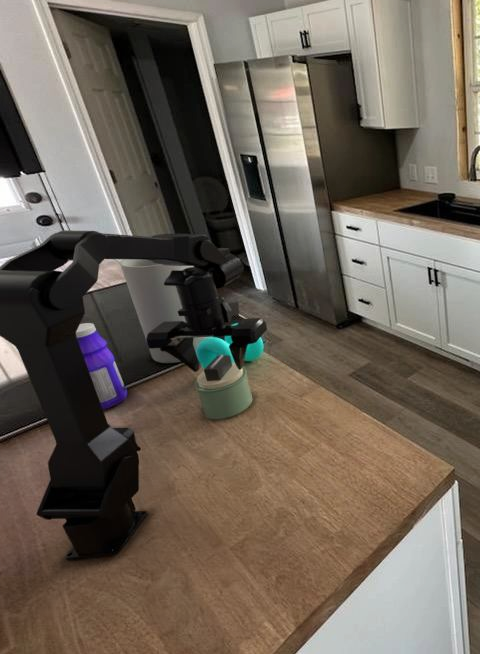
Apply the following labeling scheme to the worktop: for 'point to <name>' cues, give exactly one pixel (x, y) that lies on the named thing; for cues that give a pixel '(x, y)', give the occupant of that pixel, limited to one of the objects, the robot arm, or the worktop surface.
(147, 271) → the cylinder vase
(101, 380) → the bottle
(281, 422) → the worktop surface
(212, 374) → the clip
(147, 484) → the worktop surface
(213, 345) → the cyan spool
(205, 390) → the green lidded jar
